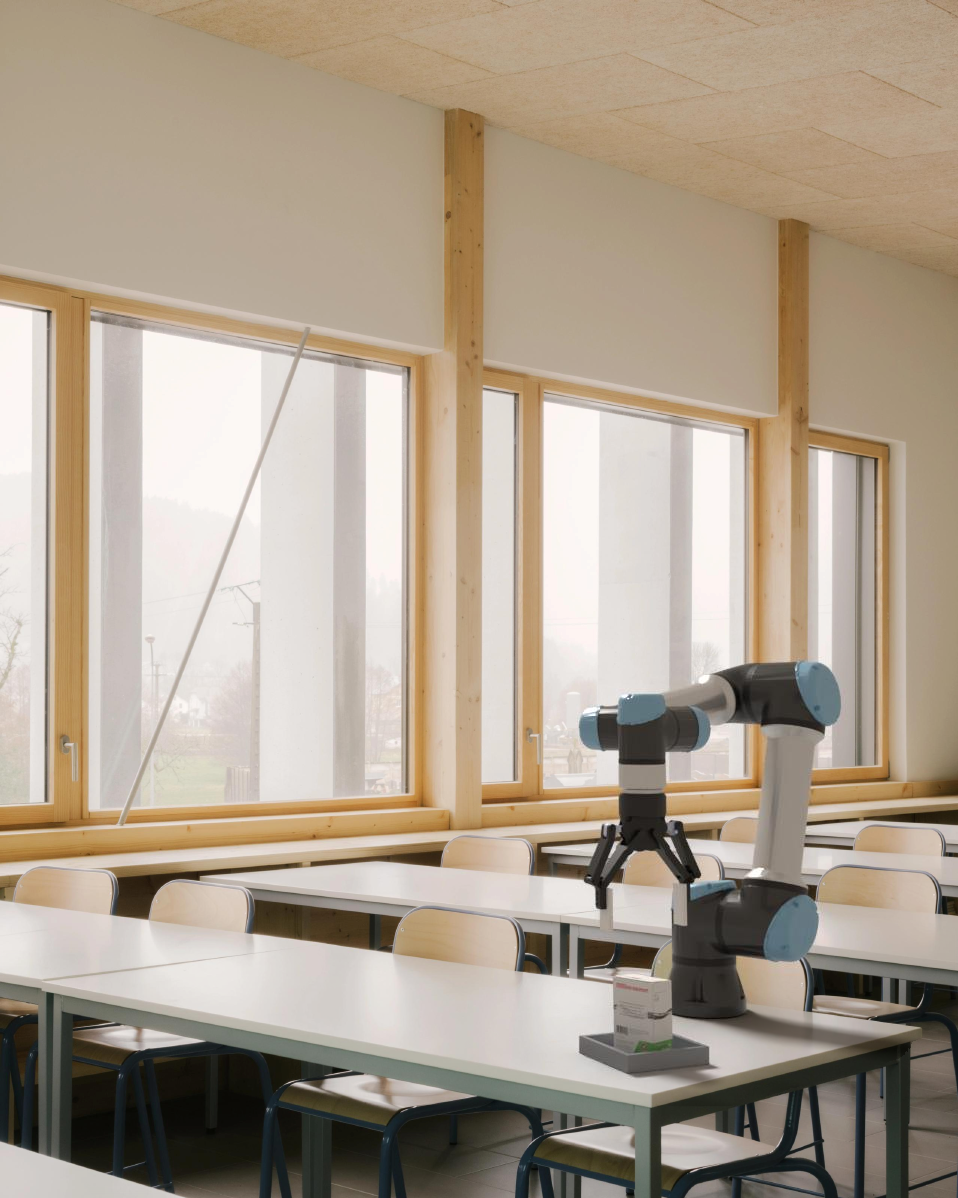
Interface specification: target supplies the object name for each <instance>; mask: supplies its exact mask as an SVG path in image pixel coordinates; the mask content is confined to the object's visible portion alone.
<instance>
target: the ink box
mask: <svg viewBox="0 0 958 1198" xmlns="http://www.w3.org/2000/svg"><path fill="white" fill-rule="evenodd" d="M612 1000H613V1003H612V1005H613V1032H614V1048H616V1049H619V1050H621V1051H624V1052H626V1053H629V1054H633V1053H642V1052H651V1051H660V1050H669V1049H673V1035H672V1033H673V1013H672V990H671V980H668V978H667V979H666V978H660V977H654V976H648V975H642V974H637V973H627V974H617V975H614V976H613V977H612Z"/></svg>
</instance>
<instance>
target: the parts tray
mask: <svg viewBox="0 0 958 1198" xmlns="http://www.w3.org/2000/svg"><path fill="white" fill-rule="evenodd" d="M672 1035H673V1049H669V1050H660V1051H651V1052H642V1053H633V1054H629V1053H626V1052H624V1051H621V1050H619V1049H616V1048H614V1031H612V1032H611V1031H609V1032H601V1033H592V1034H584V1035H579V1036H578V1053H579V1054H582V1055H584V1056H586V1057H588V1058H591V1059H593V1060H596V1061H597V1062H600V1063H603V1064H605V1065H608V1066H609V1067H612V1068H613V1069H616V1070H619V1071H621V1072H624V1073H626V1074H634V1073H643V1072H651V1071H660V1070H661V1071H662V1070H668V1069H677V1068H685V1067H686V1068H687V1067H694V1066H703V1065H710V1046H709V1045H706V1044H704V1043H700V1042H699V1041H695V1040H692V1039H690V1038H686V1037H683V1036H682V1035H678V1034H676V1033H673V1032H672Z"/></svg>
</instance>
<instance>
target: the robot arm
mask: <svg viewBox="0 0 958 1198" xmlns="http://www.w3.org/2000/svg"><path fill="white" fill-rule="evenodd" d="M617 701H618V702H617V703H618V704H616V705H609V706H607V705H599V706H590V707H588V708H586V709H585V710H584V711H583V712H582V714H581V715H580V718H579V721H578V722H579V723H578V732H579V737H580V738H579V739H580V740H581V742H582V744H583V745H584V746H585V747H586V748H587V749H590V750H592V751H593V750H595V751H601V752H606V751H609V752H610V751H615V752H616V751H618V759H617V760H618V762H617V763H618V788H619V790H622V791H621V792H620V793H619V794H618V816H619V823H618V824H614V823H609V822H603V823H602V824H601V827H600V828H601V829H600V837H599V840H598V843H597V845H596V848H595V849H594V853H593V854H592V858H591V860H590V862H589V864H588V867H587V870H586V872H585V875H584V877H583V882H584V883H585V884H587V885H590V886H592V887H593V888H594V892H595V895H594V896H595V897H594V898H595V899H594V900H595V903H594V905H595V908H596V909H598V910H599V930H600V931H603V932H608V933H613V932H614V909H613V908H614V906H613V904H614V898H613V896H614V893H613V888H609V886H610V884H611V882H612V881H613V879H614V878H615V877H616V875H617V874H618V873H619V871H620V869H621V868H622V866H623V865H624V863H625V862H626V861H627V859H628V858H629V856H631V855H632V854H633V853H634V852H637V853H638V852H640V853H641V852H644V851H648V852H656V853H657V854H658V855H659V857H660V859H661V860H662V861H663V862H664V864H665V865H666V866H667V868H668V869H669V870H670V872H671V873H672V875H673V876H674V877H675V879H676V880H677V881H674V882H672V887H673V888H672V895H671V904H670V905H671V907H670V911H671V968H670V972H669V975H668V978H667V980H671V990H672V1015H673V1014H674V1015H678V1016H683V1017H689V1018H690V1017H692V1018H701V1019H703V1018H704V1019H705V1018H707V1019H708V1018H709V1019H712V1018H713V1019H719V1018H720V1019H721V1018H732V1017H739V1016H742V1015H745V1014H747V1011H748V1010H747V1006H748V1005H747V1003H748V1002H747V997H746V994H745V991H744V988H743V985H742V981H741V979H740V974H739V971H738V968H737V957H743V958H750V959H758V960H766V961H770V962H773V963H779V962H785V963H787V962H788V963H794V962H797V961H800V960H801V959H803V958H804V957H805V956H806V955H807V953H809V952H810V950H811V949H812V947H813V945H814V943H815V941H816V937H817V935H818V929H819V916H820V915H819V913H818V906H817V904H816V902H815V900H814V899H813V898H812V897H810V896H809V895H808V894H809V886H808V885H807V884H806V883H805V881H804V880H803V878H802V870H803V869H802V867H803V860H804V851H805V850H804V849H805V841H806V831H807V824H808V813H809V805H810V804H809V803H810V794H811V784H812V776H813V766H814V757H815V751H816V746H817V744H819V743H820V742H822V741H823V740H824V739H825V734H826V727H830V726H833V725H834V724H836V723H837V722H838V719H839V717H840V716H841V710H842V698H841V691H840V687H839V684H838V681H837V678H836V677H835V675H834V673H833V671H832V670H831V669H830V668H829V667H828V666H827V665H825V664H824V663H822V662H817V661H805V660H798V661H786V662H785V661H781V662H779V661H778V662H777V661H776V662H750V663H746V664H739V665H736V666H732V667H729V668H726V669H723V670H719V671H716V672H713V673H710V674H706V675H703V676H701V677H700V678H698V679H697V680H696V681H695V682H694V684H690V685H686V686H682V687H678V688H674V689H671V690H668V691H667V690H666V691H663V692H661V693H625V694H624V693H623V694H622V695H620V697H619V698H618V700H617ZM724 724H740V725H742V724H743V725H744V724H746V725H759V727H760V728H759V732H761V734H762V735H763V736H764V737H765V739H766V747H765V756H764V763H763V765H764V766H763V772H762V780H761V781H762V782H761V788H760V789H761V791H760V797H759V798H760V799H759V808H758V815H757V825H756V831H755V832H756V834H755V840H754V841H755V842H754V848H753V857H752V864H751V870H750V871H748V873H746V874H745V875H744V876H742V878H741V885H740V889H738V887H737V884H736V881H735V880H733V879H732V880H731V879H724V880H723V879H722V880H710V881H709V880H707V881H706V880H705V881H700V882H699V881H698V882H695V881H696V880H697V879H700V878H701V877H702V872H701V870H700V868H699V865H698V863H697V861H696V859H695V856H694V854H693V852H692V849H691V847H690V844H689V842H688V840H687V838H686V836H685V829H684V822H683V821H681V820H674V819H671V820H670V819H669V821H668V822H667V821H666V815H667V795H666V793H665V792H663V791H664V790H665V789H667V761H666V756H667V755H666V753H679V752H680V753H690V752H694V751H698V750H700V749H702V748H704V747H705V746H706V744H707V743H708V741H709V739H710V737H711V730H712V727H711V726H714V727H715V726H716V727H717V726H722V725H724ZM666 834H668V835H669V837H670V839H671V843H672V844H673V847H674V849H675V851H676V853H677V855H676V854H675V853H674V852H673V851H672V849H671V846H670V844H669V843H668V841H666V839H665V838H664V837H665V835H666ZM619 836H620V838H621V839H620V840H619V841H618V843H617V845H616V846H615V850H614V852H612V849H613V847H614V843H615V842H616V838H618V837H619ZM611 852H612V854H611ZM610 854H611V856H610ZM609 856H610V858H609ZM677 856H678V857H677ZM608 858H609V859H608Z"/></svg>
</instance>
